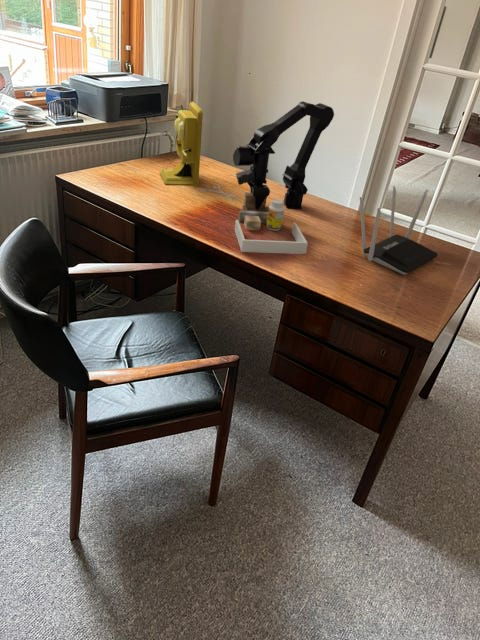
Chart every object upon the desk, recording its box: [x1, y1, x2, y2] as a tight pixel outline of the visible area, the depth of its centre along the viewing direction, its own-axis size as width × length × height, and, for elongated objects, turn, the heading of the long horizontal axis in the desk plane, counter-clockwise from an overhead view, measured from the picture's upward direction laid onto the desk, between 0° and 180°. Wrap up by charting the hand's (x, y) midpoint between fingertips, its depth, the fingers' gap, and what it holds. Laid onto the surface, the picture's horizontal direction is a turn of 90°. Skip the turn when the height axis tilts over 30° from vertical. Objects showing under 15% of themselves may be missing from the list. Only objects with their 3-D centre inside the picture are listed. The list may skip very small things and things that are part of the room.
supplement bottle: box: [265, 198, 285, 232], centre depth 170 cm, size 6×6×10 cm
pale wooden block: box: [243, 216, 262, 231], centre depth 171 cm, size 5×5×4 cm
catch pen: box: [234, 219, 308, 255], centre depth 162 cm, size 22×17×4 cm
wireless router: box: [359, 185, 438, 276], centre depth 159 cm, size 34×23×20 cm
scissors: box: [196, 184, 242, 202], centre depth 198 cm, size 11×1×20 cm
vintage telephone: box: [158, 101, 204, 187], centre depth 199 cm, size 31×14×30 cm, turn 17°
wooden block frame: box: [237, 192, 269, 224], centre depth 181 cm, size 16×16×6 cm
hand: (254, 205), depth 187 cm, fingers open, 9 cm apart
